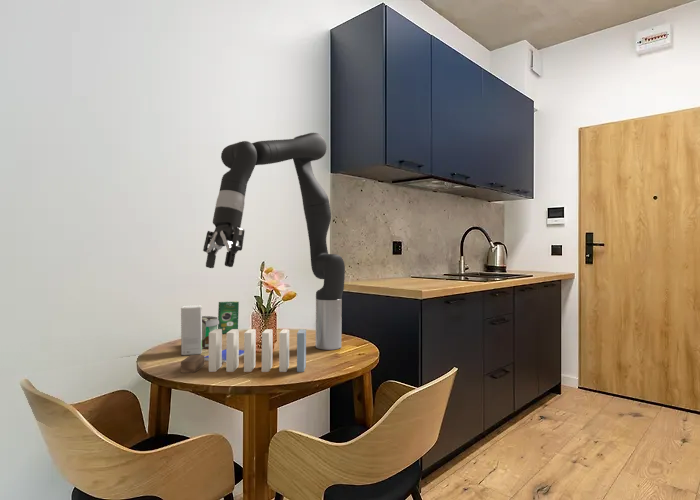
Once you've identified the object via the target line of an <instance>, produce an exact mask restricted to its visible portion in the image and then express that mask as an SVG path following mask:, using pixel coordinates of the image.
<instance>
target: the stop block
mask: <svg viewBox="0 0 700 500" xmlns="http://www.w3.org/2000/svg"><path fill="white" fill-rule="evenodd" d="M204 357H205V354H195V355H188V356H187V357H185V358H184V359H182V360H181V361H180V373H196V372H197V371H199V370H200V369H202V367H203V366H205V360H204Z"/></svg>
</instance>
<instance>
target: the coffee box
mask: <svg viewBox="0 0 700 500" xmlns="http://www.w3.org/2000/svg"><path fill="white" fill-rule="evenodd" d="M239 304H240V301H237V300H235V301H218V308H217V311H218V313H217V318H218V320H219V324H218V325H217V329H222V335H225V333H226V334H227V332H229V331H230V330H232V329H239V314H240V312H239V307H240V305H239Z"/></svg>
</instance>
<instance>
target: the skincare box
mask: <svg viewBox="0 0 700 500" xmlns="http://www.w3.org/2000/svg"><path fill="white" fill-rule="evenodd" d="M202 310H203V308H202V304H194V305H193V304H192V305H182V306H181V308H180V324H181V325H180V326H181V327H180V331H181V333H180V339H181V342H180V343H181V350H180V351H181V353H180V354H181V356H190V355H202V352H203V347H202V316H203V313H202V312H203V311H202Z"/></svg>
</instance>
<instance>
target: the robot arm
mask: <svg viewBox="0 0 700 500" xmlns="http://www.w3.org/2000/svg"><path fill="white" fill-rule="evenodd" d="M327 147H328V146H327V142H326V140H325V138H324V137H323V136H322V135H321V134H319V133H317V132H309V133H305V134H302V135H298V136H295V137H293V138H289V139H288V138H287V139H269V140H259V141H253V142H250V141H248V140H242V141H238V142H235V143H232V144H229V145H227V146H225V147H224V148H223V149H222V151H221V156H220V159H221V162H222V164H224V166H225V167H226V168H228V169H229V170H228V171H226V172H225V173H224V174H223V175H222V177H221V180H220V181H221V182H220V186H219V187H220V188H219V192H218V195H217V197H216V202H215V207H214V212H213V213H214V214H213V217H212V225H214V226H215V228H214V230H213V231H211V230H207V232H206V236H205V240H204V244H203V249H202V251H203V252H204V253H206V255H207V256H206V262H205V267H206V268H209V269H213V268H215V264H216V257H217V253H218V252H219V250H222V248H223V247H225V246H226V255H225V261H224V266H225V267H228V268H233V266H234V263H235V259H236V254H237V253H238V252H239V251H242V250H243V245H244V244H243V243H244V237H245V229H244V228H241V226H242V221H243V214H244V209H245V198H246V192H247V186H248V183H249V181H250V179H251V177H252V174H253V171H254V170H255V167H256V166H263V165H270V164H278V163H281V162H285V161H291V160H293V164H294V168H295V171H296V175H297V179H298V184H299V188H300V189H299V190H300V193H301V198H302V206H303V211H304V212H303V213H304V216H305V218H304V219H305V222H306V227H307V234H308V235H307V236H308V243H309V253H310V254H309V255H310V266H311V270H312V274H313V275H314V276H315V278H316V279H319V280H323V286H322V287H321V288H320V289H317V290H316V293H315V348H316V349H319V350H326V351H329V350H338V349H341V348H342V331H343V330H342V328H343V327H342V323H343V322H342V320H343V319H342V317H343V316H342V312H343V310H342V309H343V308H342V306H343V305H342V303H343V300H342V297H343V294H344V293H343V292H344V289H345V277H346V275H345V274H346V265H345V261H344V259H343V257H342V256H341V255H339V254H336V253H329V251H328V250H329V249H328V245H327V235H328V231H329V229H330V225H331V220H332V212H331V205H330V199H329V196H328V194H327V193H326V191H325V189H324V188H323V187H322V186H321V184H320V183H319V181H318V180H317V178H316V177H315V174H314V171H313V167H312V162H314V161H318V160H320V159H322V158H323V157H324V156H325V155H326V153H327Z"/></svg>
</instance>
